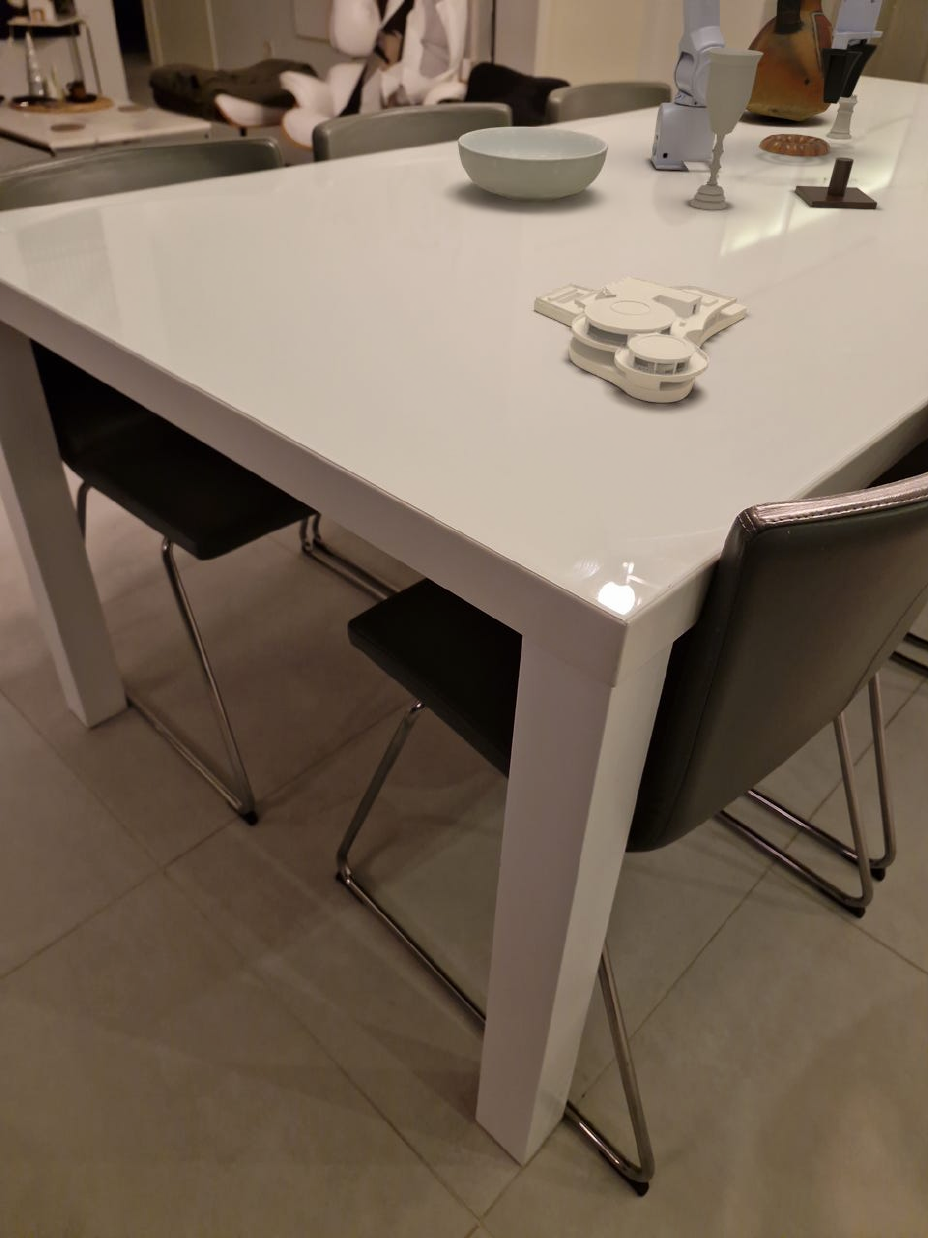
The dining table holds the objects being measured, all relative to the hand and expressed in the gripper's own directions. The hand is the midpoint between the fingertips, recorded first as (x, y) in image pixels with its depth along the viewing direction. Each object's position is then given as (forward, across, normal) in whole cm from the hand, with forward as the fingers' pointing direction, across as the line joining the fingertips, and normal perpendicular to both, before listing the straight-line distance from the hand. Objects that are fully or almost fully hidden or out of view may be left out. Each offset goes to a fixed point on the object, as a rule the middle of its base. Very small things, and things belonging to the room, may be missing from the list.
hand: (836, 99), depth 136 cm
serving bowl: (+10, -47, +28) cm, 56 cm away
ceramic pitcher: (+10, +39, +20) cm, 45 cm away
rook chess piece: (+10, +18, +2) cm, 21 cm away
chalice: (+10, -36, +5) cm, 38 cm away
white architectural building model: (+10, -88, -8) cm, 89 cm away
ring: (+8, +2, +5) cm, 10 cm away
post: (+9, -22, -8) cm, 26 cm away
